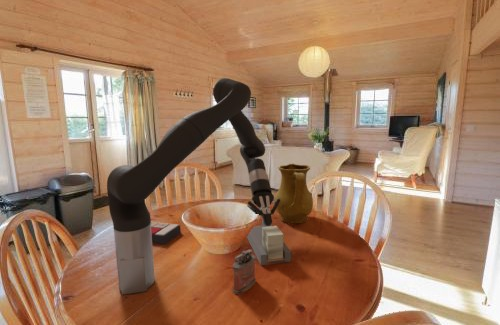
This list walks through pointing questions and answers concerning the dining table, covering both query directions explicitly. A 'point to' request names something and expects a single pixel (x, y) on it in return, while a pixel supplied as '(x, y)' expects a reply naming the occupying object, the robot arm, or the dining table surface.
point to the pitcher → (294, 194)
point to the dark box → (164, 232)
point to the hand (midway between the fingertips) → (268, 225)
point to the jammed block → (272, 242)
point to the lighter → (244, 272)
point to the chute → (259, 251)
